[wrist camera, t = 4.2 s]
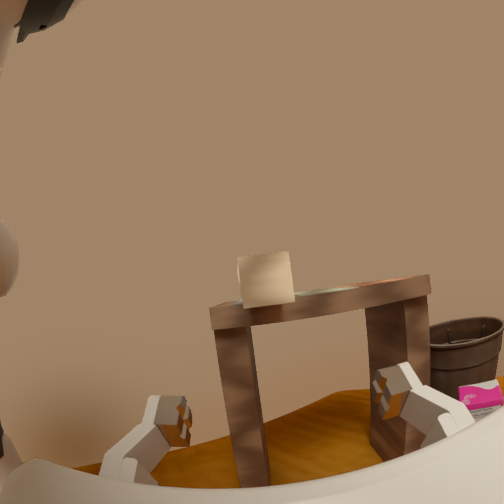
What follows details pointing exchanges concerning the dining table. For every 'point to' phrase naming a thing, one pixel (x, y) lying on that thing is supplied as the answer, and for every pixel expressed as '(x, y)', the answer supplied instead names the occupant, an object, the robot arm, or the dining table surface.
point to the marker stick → (265, 279)
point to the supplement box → (481, 398)
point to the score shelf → (313, 305)
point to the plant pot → (464, 352)
